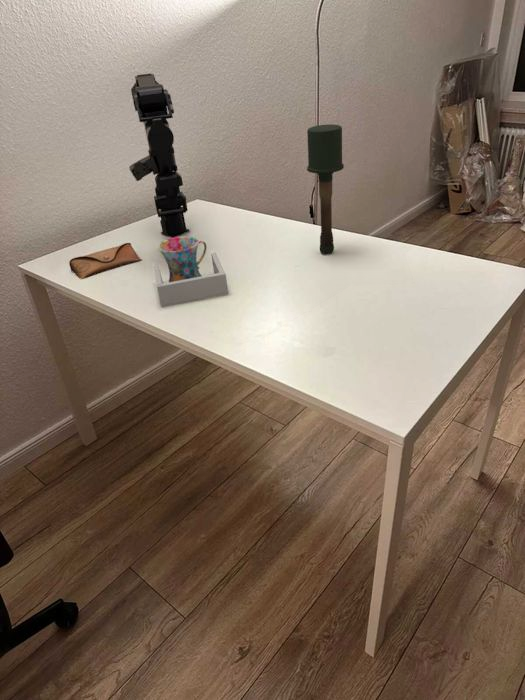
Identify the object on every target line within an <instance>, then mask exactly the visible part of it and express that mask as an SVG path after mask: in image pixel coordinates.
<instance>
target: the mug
mask: <svg viewBox="0 0 525 700" xmlns="http://www.w3.org/2000/svg"><path fill="white" fill-rule="evenodd" d="M200 244H203V252H202V254H201V257H200V258H199V260H198V261H197V254H198V253H197V252H198V247H199V245H200ZM157 249H158V250H159V252H160V254H161V255H162V256H163V258H164V260H165V262H166V265H167V268H168V271H169V273H168V274H169V279H168V282H167V283H169V282H174V281H179V280H185V279H190V278H195V277H201V276H202V274H201V273H200V271H199V269H200V267H199V265H200V264H201V263H202V261H203V259H204V258H205V255H206V253H207V243H206V242H205V241H203V240H199V239H198V238H196V237H193V236H188V235H187V236H176V237H173V238H172V237H170V238H168V239H165V240H163V241H162V242H160V243H159V245H158V248H157Z"/></svg>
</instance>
